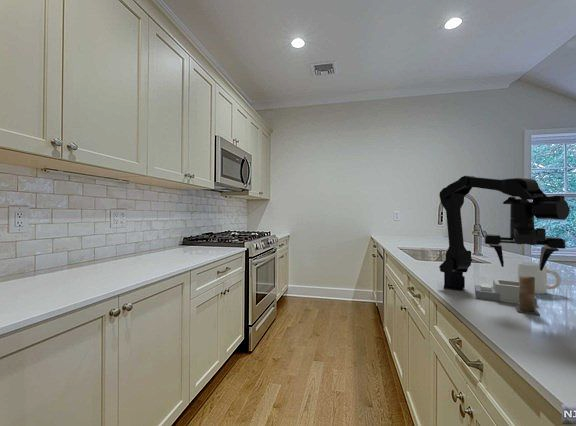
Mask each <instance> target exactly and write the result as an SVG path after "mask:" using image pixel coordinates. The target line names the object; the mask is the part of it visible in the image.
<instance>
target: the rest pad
mask: <svg viewBox="0 0 576 426" xmlns="http://www.w3.org/2000/svg"><path fill="white" fill-rule="evenodd" d="M514 308H515V310H516V312H517V313H520V314H527V315H533V316H534V315H535V316H539V317H540V316H541V313H540V312H539V311H538V309H536V308H535V312H527V311H523V310H520V309H519V305H517V306H516V305H515V306H514Z"/></svg>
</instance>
